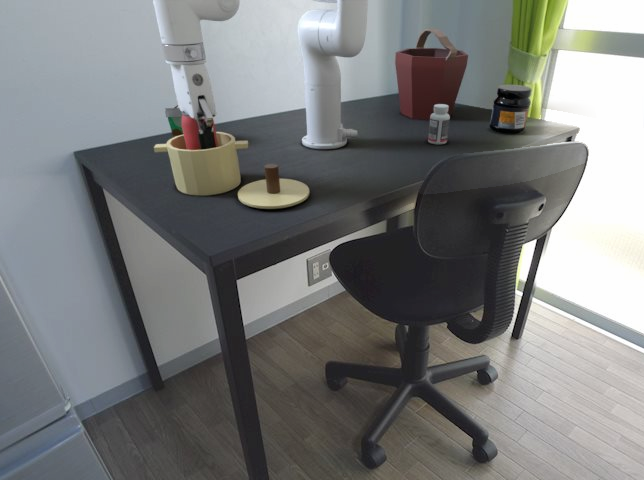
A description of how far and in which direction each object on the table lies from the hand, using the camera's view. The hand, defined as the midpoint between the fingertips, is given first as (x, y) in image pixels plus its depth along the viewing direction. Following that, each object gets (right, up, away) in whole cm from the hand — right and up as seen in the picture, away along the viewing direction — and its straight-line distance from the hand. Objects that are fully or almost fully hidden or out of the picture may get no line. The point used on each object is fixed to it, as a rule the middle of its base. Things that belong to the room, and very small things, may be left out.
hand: (202, 146), depth 96 cm
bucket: (+57, +31, +57) cm, 86 cm away
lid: (+16, -11, -2) cm, 19 cm away
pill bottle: (+57, +12, +31) cm, 65 cm away
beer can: (0, -4, +3) cm, 5 cm away
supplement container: (+80, +19, +41) cm, 92 cm away
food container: (-12, +12, +30) cm, 35 cm away
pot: (0, -7, +5) cm, 8 cm away
